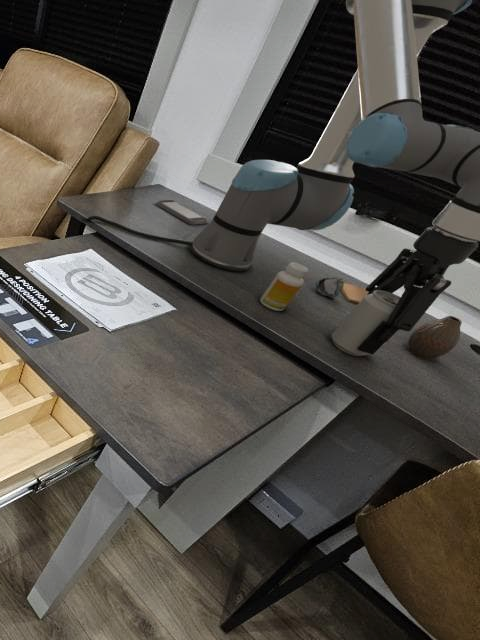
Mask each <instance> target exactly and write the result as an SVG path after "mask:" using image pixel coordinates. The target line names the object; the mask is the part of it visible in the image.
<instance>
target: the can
mask: <svg viewBox="0 0 480 640" xmlns="http://www.w3.org/2000/svg"><path fill="white" fill-rule="evenodd" d="M400 298H401V296H399V295H397V294H396V293H394V292H393V293H390V292H387V291H383V290H375V291H374V293H373V294H369V295H366V296H365V297H364V298H363V299H362V300H361V301H360V302H359V304H356V305H355V307H354V308H353V309H352V310H351V311H350V312H349V314H347V316H346V317H345V318H344V320H342V322H341V323H340V324H339V326H337V328H336V329H335V330H333V332H332V334H331V339H332V343H333V345H334V346H335V347H337V348H338V349H339V350H340V351H343V352H344V353H346V354H348V355H351V356H355V357H363V356H370V354H369V353H366V352H362V351H359V350H358V349H357V348H358V347H359V346H360V345H361V344H362V343H363V342H364V341H365V340H366V339H367V337H368V336H369V335H370V334H371V333H372V332H373V331H374V330H375V329H376V328H377V327H378V326H379V325H380V324H381V323H382V321H387V320H388V319H389V317H390V315H391V313H392V312H393V310H394V308H395V306H396V305H397V303H398V301H399V300H400ZM396 320H397V319H396ZM396 320H395V321H396Z"/></svg>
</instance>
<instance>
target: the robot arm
mask: <svg viewBox="0 0 480 640" xmlns="http://www.w3.org/2000/svg"><path fill="white" fill-rule="evenodd" d="M472 3H473V0H345V7H346V11H347V12H348V13H349V14H351V15H352V16H353V19H354V31H355V33H354V34H355V45H356V46H355V47H356V60H357V70H356V72H355V73H354V74H353V76H352V79H351V81H350V82H349V84H348V87H347V88H346V90H345V91H344V94H343V95H342V97H341V99H340V100H339V103H338V105H337V107H336V108H335V111H334V112H333V114H332V116H331V118H330V120H329V122H328V124H327V125H326V127H325V129H324V130H323V132H322V134H321V137H320V138H319V140H318V142H317V143H316V146H315V147H314V149H313V151H312V153H311V155H310V156H309V157H308V158H306V159H304V160H303V161H300V162H299V163H298V164H297V166H296V167H295V166H294V165H292V164H289V163H286V162H283V161H276V160H274V159H273V160H271V159H254V160H253V159H252V160H250V161H247V162H245V163H244V164H243V165H241V166H240V168H239V170H238V171H237V173H236V174H235V176H234V177H233V179H232V181H231V183H230V186H229V188H228V190H227V192H226V193H225V195H224V197H223V199H222V201H221V203H220V205H219V206H218V209H217V210H216V212H215V214H214V216H213V218H212V220H211V221H210V222H209V223H208V224H207V225H206V226H205V227H204V228H203V230H201V231H200V233H199V234H198V235H197V236H196V237H195V238H194V239H193V241H189V240H182V239H177V238H176V239H175V238H169V237H163V236H159V235H153V234H148V233H144V232H141V231H138V230H135V229H131V228H129V227H128V226H124V225H122V224H120V223H118V222H115V221H112V220H109V219H106V218H104V217H102V216H98V215H91V216H89V217H86V218H85V219H84V221H85V222H90V221H92V220H93V221H94V220H97V221H100V222H102V223H104V224H106V225H110V226H113V227H115V228H117V229H120V230H122V231H125V232H127V233H129V234H132V235H135V236H139V237H143V238H146V239H151V240H155V241H160V242H166V243H171V244H178V245H184V246H190V247H189V250H190V252H191V253H192V254H193V255H194V256H195V257H196V258H197V259H199V260H201V261H202V262H204V263H206V264H208V265H210V266H213V267H216V268H217V269H222V270H224V271H229V272H245V271H247V270H248V269H249V268H250V267H251V265H252V264H253V261H254V258H255V253H256V249H257V245H258V241H259V238H260V236H261V235H262V233H263V231H264V229H265V228H266V227H267V225H273V226H279V227H280V226H281V227H286V228H292V229H297V230H299V231H321V230H324V229H326V228H328V227H332V225H334V224H336V223H337V222H339V221H340V220H341V219H342V218H343V217H344V216H345V214H346V213H347V212H348V210H349V209H350V208H351V205H352V203H353V201H354V196H353V195H354V194H355V189H354V187H353V185H352V184H351V183H352V181H353V180H354V178H355V176H356V175H355V173H354V170H353V165H354V164H355V163H358V164H362V165H365V166H368V167H371V168H381V169H385V170H394V171H399V172H405V173H408V174H413V175H414V174H415V175H419V176H425V177H431V178H436V179H439V180H442V181H445V182H447V183H449V184H452V185H455V186H456V187H458V188H460V189H459V190H458V192H457V193H456V194H455V195H454V196H453V197H452V199H451V200H449V202H448V203H447V204H446V205H445V206H444V207H443V209H442V210H441V211H440V212H439V213H438V215H436V217H435V218H434V219H433V220H432V221H431V223H432V225H431V226H429V227H426V228H425V229H424V231H423V232H422V233H421V234H420V235H419V236H418V238H417V239H416V240H415V241H414V242H413V244H412V246H413V248H414V250H413V249H410V248H406V247H405V248H403V249H402V250H401V251H400V252H399V253H398V255H397V256H396V257H395V259H394V260H393V261H392V262H391V263H390V264H388V266H387V267H386V268H385V269H384V270H383V271H382V272H381V273H379V274H378V276H376V277H375V278H374V279H373V281H371V283H369V284H368V285H367V286H366V287H365V289H366V291H368V294H367V295H369V294H373V293H374V291H375V290H383V291H387V292H390V293H393V294H394V293H395V292H397V291H398V290H400V289H401V288H402V287H403V289H404V290H403V293H402V294H401V296H400V297H401V298H400V300H399V301H398V303H397V305H396V306H395V308H394V310H393V312H392V313H391V315H390V317H389V319H388V320H387V321H382V323H381V324H380V325H379V326H378V327H377V328H376V329H375V330H374V331H373V332H372V333H371V334H370V335H369V336H368V337H367V339H366V340H365V341H364V342H363V343H362V344H361V345H360V346H359V347H358V348H357V349H358V350H359V351H362V352H366V353H369V355H374V354H375V353H376V352H377V351H378V350H379V349H380V348H381V347H382V346H383V345H384V344H385V343H387V342H388V341H389V340H390V339H391V338H392V337H393V336H395V334H396V333H397V332H399V331H400V330H401V331H404V332H410V331H411V330H412V329H413V328H414V327H415V326H416V325H417V323H418V322H419V321H420V320H421V318H422V317H423V316H424V315H425V314H426V313H427V311H428V310H429V308H430V307H431V306H432V305H433V303H434V302H435V301H437V299H438V297H439V296H440V295H441V294H442V293H443V292H444V291H446V290H447V289H448V288H449V287H450V286H451V285H452V281H451V280H449V279H445V277H444V276H445V274H446V272H447V270H448V269H449V267H450V266H453V265H460V264H463V263H464V262H465V261H466V260H467V259H468V258H469V257H470V256H471V255H472V254H473V253H474V252H475V251H476V249H478V248H479V242H480V131H478V130H475V129H474V128H471V127H468V126H463V125H456V124H441V123H437V122H432V121H427V120H425V119H424V117H423V108H422V99H421V98H422V97H421V87H420V76H419V64H418V57H419V55H420V53H421V51H422V50H423V48H424V46H425V45H426V43H427V42H428V40H429V38H430V36H431V35H433V33H435V32H436V31H439V30H440V29H442V28H443V27H445V26H446V25H448V23H449V21H450V20H451V18H452V16H454V15H456V14H458V13H461V12H462V11H464V10H465V9H467V8H468V7H470V6H471V5H472ZM396 319H397V320H396ZM395 320H396V321H395Z"/></svg>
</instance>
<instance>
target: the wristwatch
mask: <svg viewBox="0 0 480 640" xmlns="http://www.w3.org/2000/svg"><path fill="white" fill-rule="evenodd" d="M329 280H336V288H335V290H334V292H333V293H329V292H328V291H327V290H326V287H325V286H326V285H325V281H329ZM344 283H345V282H344V279H343V278H342V277H335V276H334V277H328V276H327V277H324V278H320V279H319V280H318V281H316V282H315V290H316V292H317V293H319V294H320V295H323V296H324V297H325V296H327V297H329V298H336V297H338V296H340V293H341V292H342V291H341V290H342V289H343V286H344Z"/></svg>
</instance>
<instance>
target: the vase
mask: <svg viewBox="0 0 480 640" xmlns="http://www.w3.org/2000/svg"><path fill="white" fill-rule="evenodd" d="M462 323H463V321H462V319H460V318H458V317H456V316H453V315H447V316H445V317H442V318H438V319H434V320H431V321H427V322H425V323H423V324H421V325H420V326H418V327H417V328H416V329H414V331H413V332H412V333H411V334H410V336H409V338H408V341H407V343H408V344H407V345H408V349H409V350H410V352H412V354H415V355H417V356H418V357H421V358H424V359H436V358H440V357H442V356H445V355H446V354H447V353H450V352H451V351H452V350H453V349H454V348H455V347H456V346H457V344H458V343H459V341H460V339H461V327H462V326H461V325H462Z"/></svg>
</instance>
